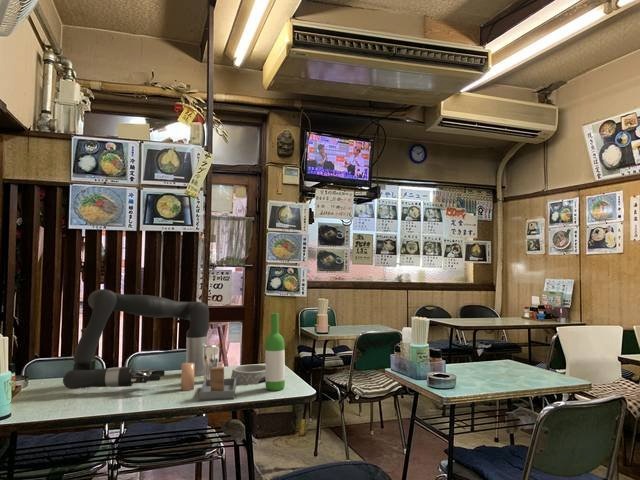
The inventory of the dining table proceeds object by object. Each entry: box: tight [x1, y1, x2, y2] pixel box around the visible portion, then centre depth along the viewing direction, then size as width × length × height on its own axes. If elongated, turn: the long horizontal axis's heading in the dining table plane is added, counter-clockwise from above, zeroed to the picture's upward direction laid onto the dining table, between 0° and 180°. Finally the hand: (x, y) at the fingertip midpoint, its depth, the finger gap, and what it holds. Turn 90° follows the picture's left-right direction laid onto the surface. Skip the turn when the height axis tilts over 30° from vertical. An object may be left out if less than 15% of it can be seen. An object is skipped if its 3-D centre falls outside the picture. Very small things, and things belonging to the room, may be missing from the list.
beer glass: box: [202, 344, 220, 383], centre depth 200 cm, size 7×7×15 cm
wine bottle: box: [264, 312, 286, 392], centre depth 186 cm, size 8×8×30 cm
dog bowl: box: [230, 364, 266, 386], centre depth 202 cm, size 17×18×5 cm
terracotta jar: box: [180, 362, 195, 392], centre depth 187 cm, size 5×5×10 cm
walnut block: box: [211, 366, 225, 391], centre depth 175 cm, size 4×4×10 cm
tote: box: [198, 377, 237, 401], centre depth 180 cm, size 21×13×3 cm, turn 8°
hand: (162, 375), depth 186 cm, fingers open, 8 cm apart
